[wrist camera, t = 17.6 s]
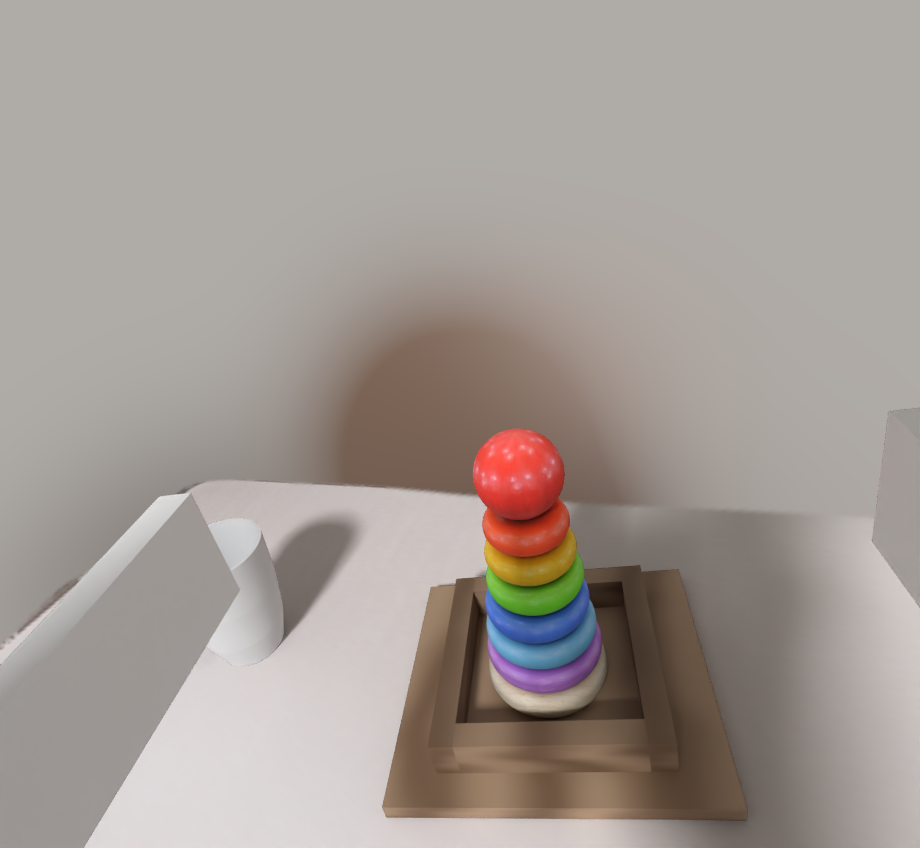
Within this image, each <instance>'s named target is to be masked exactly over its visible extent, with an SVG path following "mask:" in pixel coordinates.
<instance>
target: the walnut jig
mask: <svg viewBox="0 0 920 848" xmlns="http://www.w3.org/2000/svg"><path fill="white" fill-rule="evenodd" d="M584 579H585V581H586V583H587V586H588V590H589V599H590V601H591V602H592V604H593V607H594V610H595V614H596V621H597V623H598V625H599V628H600V631H601V636H602V643H603V645H604V648H605V651H606V654H607V662H608V668H607V675H606V679H605V682H604V684H603V687H602V689H601V690H600V692H599V693H598V695H597V696H596V697H595V698H594V700H593V701H592V702H590V703H589V704H588V705H587V706H585V707H584V708H582V709H581V710H579V711H577V712H575V713H572V714H570V715H567V716H563V717H557V718H541V717H535V716H531V715H527V714H524V713H522V712H520V711H518V710H516V709H514V708H513V707H511V706H510V705H509V704H508V703H506V702H505V701H504V700H503V699H502V697H501V696H500V695H499V694H498V692H497V691H496V689H495V687H494V685H493V683H492V680H491V676H490V672H489V658H490V657H489V653H488V632H487V615H488V614H487V611H486V605H485V598H486V592H487V589H488V586H487V582H486V577H475V578H462V579H456V585H452V586H438V587H431V589H430V594H429V598H428V603H427V607H426V612H425V616H424V621H423V625H422V630H421V634H420V639H419V643H418V648H417V652H416V657H415V661H414V666H413V670H412V675H411V679H410V684H409V688H408V693H407V697H406V702H405V707H404V711H403V716H402V720H401V725H400V729H399V734H398V738H397V743H396V747H395V752H394V756H393V761H392V765H391V770H390V774H389V779H388V783H387V788H386V792H385V797H384V801H383V806H382V808H383V811H384V813H385V815H386V817H412V818H546V819H680V820H747V806H746V803H745V799H744V796H743V792H742V789H741V785H740V782H739V779H738V775H737V772H736V768H735V765H734V761H733V758H732V754H731V751H730V747H729V744H728V740H727V737H726V733H725V730H724V726H723V723H722V719H721V716H720V713H719V709H718V706H717V702H716V699H715V695H714V692H713V688H712V685H711V681H710V678H709V674H708V671H707V667H706V664H705V660H704V657H703V653H702V650H701V647H700V643H699V640H698V636H697V633H696V629H695V626H694V622H693V619H692V615H691V612H690V608H689V605H688V601H687V598H686V594H685V591H684V587H683V584H682V581H681V577H680V574H679V570H678V569H676V570H662V571H648V572H641V567H640V565H638V566H625V567H611V568H597V569H584Z"/></svg>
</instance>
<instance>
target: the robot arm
mask: <svg viewBox="0 0 920 848" xmlns="http://www.w3.org/2000/svg"><path fill="white" fill-rule="evenodd" d="M872 542H873V544H874V545H875V546H876V548H877V549H878V550H879V552H880V553H881V555H882V556H883V557H884V559H885V560H886V562H887V563H888V564H889V566H890V567H891V569H892V570H893V571H894V573H895V574H896V575H897V577H898V578H899V580H900V581H901V582H902V584H903V585H904V587H905V588H906V589H907V591H908V592H909V594H910V595H911V596H912V598H913V599H914V600H915V602H916V603H917V605H918V606H919V607H920V408H913V409H904V410H896V411H889V412H888V421H887V428H886V436H885V443H884V451H883V459H882V467H881V475H880V482H879V490H878V497H877V505H876V513H875V521H874V528H873V536H872ZM239 591H240V588H239V586H238V584H237V582H236V580H235V578H234V577H233V575H232V573H231V571H230V569H229V567H228V565H227V563H226V561H225V559H224V557H223V555H222V553H221V551H220V549H219V547H218V545H217V543H216V541H215V539H214V537H213V535H212V533H211V531H210V529H209V527H208V525H207V523H206V521H205V519H204V517H203V516H202V514H201V512H200V510H199V508H198V506H197V504H196V502H195V500H194V498H193V496H192V494H191V493H186V494H177V495H169V496H161V497H159V498H158V499H157V500H156V501H155V502H154V503H153V504H152V505H151V506H150V507H149V508H148V509H147V510H146V511H145V513H144V514H143V515H142V516H141V517H140V518H139V519H138V520H137V521H136V522H135V523H134V524H133V525H132V527H130V528H129V529H128V531H127V532H126V533H125V534H124V535H123V536H122V537H121V538H120V539H119V540H118V541H117V542H116V543H115V544H114V545H113V546H112V547H111V549H110V550H109V551H108V552H107V553H106V554H105V555H104V556H103V557H102V558H101V559H100V560H99V561H98V562H97V563H96V564H95V565H94V566H93V568H92V569H91V570H90V571H89V572H88V573H87V574H86V575H85V576H84V577H83V578H82V579H81V580H80V581H79V582H78V583H77V584H76V586H75V587H74V588H73V589H72V590H71V591H70V592H69V593H68V594H67V595H66V596H65V597H64V598H63V599H62V600H61V601H60V603H59V604H58V605H57V606H56V607H55V608H54V609H53V610H52V611H51V612H50V613H49V614H48V615H47V616H46V617H45V618H44V619H43V621H42V622H41V623H40V624H39V625H38V626H37V627H36V628H35V629H34V630H33V631H32V632H31V633H30V634H29V635H28V636H27V637H26V639H25V640H24V641H23V642H22V643H21V644H20V645H19V646H18V647H17V648H16V649H15V650H14V651H13V652H12V653H11V654H10V655H9V657H8V658H7V659H6V660H5V661H4V662H3V663H2V664H1V665H0V848H84V846H85V845H86V843H87V841H88V840H89V838H90V837H91V835H92V833H93V832H94V830H95V828H96V827H97V825H98V823H99V822H100V820H101V818H102V817H103V815H104V813H105V812H106V810H107V809H108V807H109V805H110V804H111V802H112V800H113V799H114V797H115V795H116V794H117V792H118V790H119V789H120V787H121V785H122V784H123V782H124V781H125V779H126V777H127V776H128V774H129V772H130V771H131V769H132V767H133V766H134V764H135V762H136V761H137V759H138V758H139V756H140V754H141V753H142V751H143V749H144V748H145V746H146V744H147V743H148V741H149V739H150V738H151V736H152V734H153V733H154V731H155V730H156V728H157V726H158V725H159V723H160V721H161V720H162V718H163V716H164V715H165V713H166V711H167V710H168V708H169V706H170V705H171V703H172V702H173V700H174V698H175V697H176V695H177V693H178V692H179V690H180V688H181V687H182V685H183V683H184V682H185V680H186V678H187V677H188V675H189V674H190V672H191V670H192V669H193V667H194V665H195V664H196V662H197V660H198V659H199V657H200V655H201V654H202V652H203V651H204V649H205V647H206V646H207V644H208V642H209V641H210V639H211V637H212V636H213V634H214V632H215V631H216V629H217V627H218V626H219V624H220V623H221V621H222V619H223V618H224V616H225V614H226V613H227V611H228V609H229V608H230V606H231V604H232V603H233V601H234V599H235V598H236V596H237V595H238V593H239Z"/></svg>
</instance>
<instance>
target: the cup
mask: <svg viewBox="0 0 920 848" xmlns="http://www.w3.org/2000/svg"><path fill="white" fill-rule="evenodd" d="M207 525H208V527H209V529H210V531H211V533H212V535H213V537H214V539H215V541H216V543H217V545H218V547H219V549H220V551H221V553H222V555H223V557H224V559H225V561H226V563H227V565H228V567H229V569H230V571H231V573H232V575H233V577H234V578H235V580H236V582H237V584H238V586H239V588H240V591H239V593H238V595H237V596H236V598H235V599H234V601H233V603H232V604H231V606H230V608H229V609H228V611H227V613H226V614H225V616H224V618H223V619H222V621H221V623H220V624H219V626H218V627H217V629H216V631H215V632H214V634H213V636H212V637H211V639H210V641H209V642H208V644H207V647H208V648H209V649H210V650H212V651H213V652H214V653H216V654H217V655H218V656H220V657H221V658H222V659H224V660H225V661H226V662H228V663H229V664H231V665H233V666H237V667H244V666H249V665H253V664H256V663H258V662H260V661H262V660H264V659H265V658H267V657H268V656H269V655H271V654H272V653H273V652H274V651H275V650H276V649H277V647H278V646H279V645H280V643H281V641H282V639H283V636H284V618H283V603H282V598H281V594H280V589H279V585H278V580H277V575H276V571H275V568H274V565H273V562H272V559H271V557H270V554H269V551H268V548H267V545H266V543H265V540H264V537H263V534H262V531H261V529H260V526H259V525H258V524H257V523H256V522H254V521H252V520H250V519H245V518H230V519H224V520H220V521H216V522H213V523H210V524H207Z"/></svg>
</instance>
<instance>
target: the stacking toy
mask: <svg viewBox="0 0 920 848" xmlns="http://www.w3.org/2000/svg"><path fill="white" fill-rule="evenodd" d="M564 476H565V474H564V465H563V461H562V458H561V456H560V454H559V452H558V450H557V449H556V447H555V446H554V445H553V443H552V442H551V441H550V440H548V439H547V438H546V437H545V436H543V435H541V434H539V433H537V432H535V431H531V430H527V429H510V430H506V431H502V432H500V433H498V434H496V435H494V436H493V437H491V438H490V439H489V440H488V441H487V442H486V443H485V444H484V445H483V446H482V447H481V449H480V450H479V452H478V454H477V456H476V459H475V463H474V467H473V481H474V485H475V488H476V491H477V493H478V495H479V497H480V499H481V500H482V502H483V503H484V504H485V505H486V506H487V507H488V508H487V509H486V511H485V513H484V516H483V521H482V527H483V532H484V535H485V537H486V539H487V540H486V543H485V548H484V555H485V559H486V562H487V564H488V567H487V572H486V582H487V586H488V589H487V592H486V598H485V605H486V611H487V614H488V615H487V632H488V653H489V657H490V658H489V672H490V676H491V680H492V683H493V685H494V687H495V689H496V691H497V692H498V694H499V695H500V696H501V697H502V699H503V700H504V701H505V702H506V703H508V704H509V705H510V706H511V707H513V708H514V709H516V710H518V711H520V712H522V713H524V714H527V715H531V716H535V717H541V718H557V717H563V716H567V715H570V714H572V713H575V712H577V711H579V710H581V709H582V708H584V707H585V706H587V705H588V704H589V703H590V702H592V701H593V700H594V698H595V697H596V696H597V695H598V693H599V692H600V690H601V689H602V687H603V684H604V682H605V679H606V675H607V668H608V662H607V654H606V651H605V648H604V645H603V643H602V636H601V631H600V628H599V625H598V623H597V621H596V614H595V610H594V607H593V604H592V602H591V601H590V599H589V590H588V586H587V583H586V581H585V579H584V566H583V562H582V560H581V558H580V556H579V554H578V553H577V552H576V551H577V543H576V539H575V536H574V534H573V532H572V530H571V529H570V528H569V526H570V518H569V513H568V510H567V508H566V506H565V505H564V503H563V502H562V501H561V500H560V499H559V498H558V497H559V495H560V493H561V491H562V487H563V483H564Z"/></svg>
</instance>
